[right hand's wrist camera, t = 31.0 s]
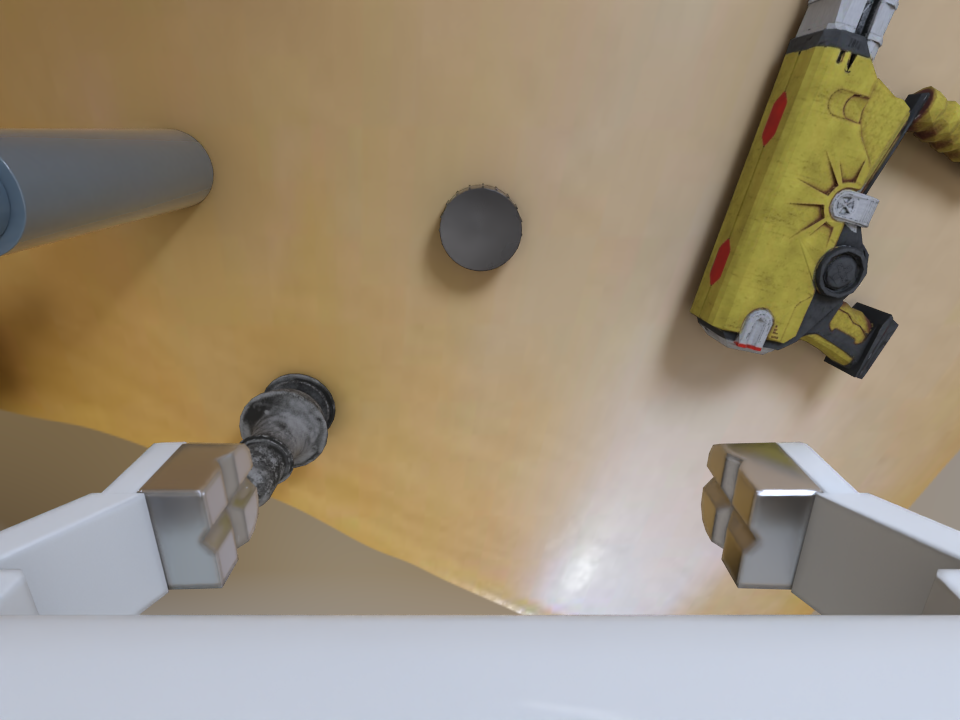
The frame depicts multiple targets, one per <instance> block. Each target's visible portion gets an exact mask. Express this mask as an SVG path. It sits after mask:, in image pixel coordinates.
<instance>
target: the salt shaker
mask: <svg viewBox="0 0 960 720" xmlns="http://www.w3.org/2000/svg"><path fill="white" fill-rule="evenodd" d="M334 416H335V403H334V400H333V398H332V395H331V393H330V392H329V391H328V390H327V388H326V387H325V386H324V385H323V384H321V383H320V382H319V381H318V380H316V379H314V378H312V377H310V376H306V375H302V374H288V375H284V376H280V377H279V378H277V379H275V380H274V381H272V382H271V383H270V385H269V386H268V387H267V388H266V390H265V392H264V393H261V394H259V395H258V396H256V397H254V398H253V399H251V400H250V402H249V403H248V404H247V405H246V406H245V407H244V409H243V412H242V414H241V416H240V425H239V427H240V432H241V437H242V439H243V440H242V441H241V442H240V443H239V444H245V445H246V446H247V447H248V448H249V449H250V453H251V458H252V463H253V467H252V469H251V470H250V472H249V473H248V475H247V476H246V477H247V478H248V479H249V480H250V481H251V482H252V483H253V484H254V485H255V486H256V487H257V492H258V499H259V507H260V506H262V505H263V504H264V503H266V502H267V501H268V500H269V498H270V497H271V495H272V493H273V491H274V490H275V488H276V486H277V484H279V483H281V482H283V481H285V480H286V479H287V478H288V477H289V476H290V474H291V472H292V470H293V468H296V467H300V466H304V465H307V464H308V463H310V462H312V461H314V460H315V459H316V458H317V457H318V456H319V455H320V454H321V453H322V451H323V449H324V447H325V445H326V442H327V437H328V431H327V429H328V428H329V427H330V426H331V424H332V422H333V420H334Z"/></svg>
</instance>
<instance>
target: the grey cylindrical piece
mask: <svg viewBox="0 0 960 720" xmlns="http://www.w3.org/2000/svg"><path fill="white" fill-rule="evenodd" d="M212 183H213V168H212V164H211V161H210V158H209V156H208V154H207V152H206V151H205V149H204V148H203V147H202V145H201V144H200V143H199V142H198V141H197V140H195V139H194V138H193V137H191V136H190V135H188V134H186V133H184V132H182V131H179V130H175V129H78V128H0V257H1V256H4V255H8V254H12V253H16V252H20V251H23V250H27V249H31V248H35V247H39V246H42V245H46V244H50V243H54V242H58V241H61V240H65V239H69V238H73V237H77V236H80V235H84V234H88V233H92V232H96V231H99V230H103V229H107V228H111V227H115V226H118V225H122V224H126V223H130V222H134V221H137V220H141V219H145V218H149V217H153V216H156V215H160V214H164V213H168V212H172V211H175V210H179V209H183V208H187V207H191V206H194V205H196V204H198V203H200V202H201V201H202V200H203V199H204V198H205V197H206V196H207V195H208V193H209V192H210V190H211V187H212Z"/></svg>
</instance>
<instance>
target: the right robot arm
mask: <svg viewBox="0 0 960 720" xmlns="http://www.w3.org/2000/svg"><path fill="white" fill-rule="evenodd" d="M252 467H253V463H252V458H251V453H250V449H249V448H248V447H247V446H246V445H245V444H239V443H186V442H164V443H154V444H153V445H152V446H151V447H150V448H148V449H147V450H146V451H145V452H144V453H143V454H142V455H141V456H140V457H139V458H138V459H137V460H136V461H135V462H134V463H133V464H132V465H131V466H129V467H128V468H127V469H126V470H125V471H124V472H123V473H122V474H121V475H120V476H119V477H118V478H117V479H116V480H115V481H114V482H112V483H111V484H110V485H109V486H108V487H107V488H106V489H105V490H104V491H103V492H102V493H91V494H89V495H86V496H84V497H81V498H79V499H76V500H74V501H72V502H69V503H67V504H64V505H62V506H60V507H57V508H55V509H52V510H50V511H48V512H45V513H43V514H40V515H38V516H36V517H33V518H31V519H28V520H26V521H24V522H21V523H19V524H16V525H14V526H12V527H9V528H7V529H4V530H2V531H0V720H960V531H958V530H955V529H953V528H951V527H948V526H946V525H943V524H941V523H939V522H936V521H934V520H931V519H929V518H927V517H924V516H922V515H920V514H917V513H915V512H912V511H910V510H908V509H905V508H903V507H900V506H898V505H896V504H893V503H891V502H888V501H886V500H884V499H881V498H879V497H876V496H874V495H872V494H869V493H858V492H857V491H856V490H855V489H854V488H853V487H852V486H851V485H850V484H849V483H848V482H847V481H845V480H844V479H843V478H842V477H841V476H840V475H839V474H838V473H837V472H836V471H835V470H834V469H833V468H832V467H831V466H830V465H829V464H828V463H826V462H825V461H824V460H823V459H822V458H821V457H820V456H819V455H818V454H817V453H816V452H815V451H814V450H813V449H812V448H811V447H810V446H809V445H807V444H805V443H802V442H784V443H737V444H716V445H713V446H712V448H711V450H710V453H709V457H708V462H707V467H708V469H709V470H710V472H711V473H712V475H713V476H714V477H713V478H712V479H711V480H710V481H709V482H708V483H707V484H706V485H705V486H704V487H703V493H702V501H701V510H702V520H703V523H704V527H705V530H706V532H707V534H708V536H709V538H710V540H711V541H712V542H713V543H715V544H717V545H718V546H720V547H721V548H723V554H722V561H723V563H724V564H725V566H726V568H727V570H728V571H729V573H730V575H731V577H732V578H733V580H734V582H735V584H736V585H737V587H738V588H754V589H791V592H792V593H793V594H795V595H796V596H797V597H799V598H800V599H801V600H803V601H804V602H805V603H807V604H808V605H809V606H810V607H812V608H813V609H814V610H816V611H817V612H818V613H820V614H821V615H139V614H140V613H142V612H143V611H144V610H146V609H147V608H148V607H150V606H151V605H152V604H154V603H155V602H156V601H158V600H159V599H160V598H162V597H163V596H164V595H166V594H167V593H168V592H169V589H205V588H222V587H223V585H224V584H225V582H226V580H227V579H228V577H229V575H230V573H231V571H232V570H233V568H234V566H235V565H236V563H237V561H238V554H237V548H239V547H240V546H242V545H243V544H245V543H246V542H248V541H249V540H250V538H251V536H252V534H253V532H254V530H255V526H256V522H257V518H258V514H259V499H258V492H257V487H256V486H255V485H254V484H253V483H252V482H251V481H250V480H249V479H248V478H247V477H246V476H247V475H248V473H249V472H250V470H251V469H252Z"/></svg>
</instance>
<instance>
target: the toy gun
mask: <svg viewBox="0 0 960 720" xmlns="http://www.w3.org/2000/svg"><path fill="white" fill-rule="evenodd" d="M898 5H899V4H898V0H809V2H808V9H807V11H806V14H805V16H804V18H803V21H802V23H801V25H800V27H799V30H798V32H797V34H796V37H795V38H793V39H791V40H790V43H789V46H788V49H787V52H786V55H785V57H784V60H783V63H782V65H781V68H780V71H779V74H778V76H777V79H776V82H775V84H774V87H773V90H772V92H771V95H770V98H769V100H768V103H767V106H766V108H765V111H764V114H763V116H762V119H761V122H760V124H759V127H758V130H757V132H756V135H755V138H754V141H753V143H752V146H751V149H750V151H749V154H748V157H747V159H746V162H745V165H744V167H743V170H742V173H741V175H740V178H739V181H738V183H737V186H736V189H735V191H734V194H733V197H732V199H731V202H730V205H729V208H728V210H727V213H726V216H725V218H724V221H723V224H722V226H721V229H720V232H719V234H718V237H717V240H716V242H715V245H714V248H713V250H712V253H711V256H710V258H709V261H708V264H707V266H706V269H705V272H704V275H703V277H702V280H701V283H700V285H699V288H698V291H697V293H696V296H695V299H694V301H693V304H692V307H691V309H690V313H692V314H694V315H695V316H697V318H698V322H699V324H700V325H701V326H702V327H703V329H704V330H705V332H706V333H707V334H708V335H709V336H711V337H712V338H714V339H715V340H717V341H718V342H720V343H721V344H723V345H725V346H726V347H729V348H733V349H738V350H743V351H748V352H753V353H757V354H762V355H763V354H765V353H768V352H771V351H773V350H779V349H782V348H784V347H786V346H788V345H790V344H792V343H795V342H796V341H798V340H799V339H801V340H804V341H806V342H808V343H810V344H811V345H813V346H814V347H816V348H818V349H819V350H820V351H822V352H823V353H824V354H825V355H826V357H825V359H824V361H825V362H827V363H829V364H831V365H833V366H834V367H836V368H838V369H840V370H842V371H844V372H846V373H848V374H849V375H851V376H853V377H857V378H860V379H862V378H863V377H864V376H865V374H866V373H867V372H868V370H869V369H870V367H871V366H872V364H873V363H874V361H875V360H876V358H877V357H878V355H879V354H880V352H881V351H882V349H883V348H884V346H885V345H886V343H887V342H888V340H889V339H890V337H891V336H892V335H893V333H894V332H895V330H896V328H897V327H898V324H897V323H896V322H895V321H894V320H893V317H892V315H891V314H888V313H885V312H882V311H880V310H877V309H874V308H871V307H869V306H866V305H863V304H860V303H858V302H857V303H856V304H855V305H854V306H853V307H852V308H851V307H850V306H849V305H848V304H847V303H846V302H843V299H845V298H846V297H847V296H848V295H849V294H851V293H853V292H854V291H855V290H856V288H857V287H858V286H859V285H860V283H861V282H862V280H863V279H864V277H865V276H866V274H867V263H868V257H869V254H868V252H867V250H866V248H865V247H864V245H863V243H862V234H861V227H868V224H869V222H870V220H871V218H872V216H873V213H874V211H875V209H876V207H877V205H878V203H879V200H878V199H876V198H874V197H871V196H868V195H866V194H867V192H868V191H869V189H870V188H871V186H872V185H873V183H874V182H875V180H876V178H877V177H878V175H879V174H880V172H881V171H882V169H883V168H884V166H885V165H886V163H887V161H888V160H889V158H890V157H891V155H892V154H893V152H894V151H895V149H896V147H897V146H898V144H899V143H900V141H901V139H902V138H903V136H904V135H905V133H906V131H907V132H914V136H915V137H917V138H918V139H919V140H920V141H921V142H930V146H931V147H932V148H933V149H935V150H936V151H937V152H939V153H940V152H943V153H944V154H945V155H946V156H947V157H948V158H949V159H950V160H951V161H953V162H960V105H959V104H958V103H957V102H956V101H947V99H946V98H945V97H944V95H943V94H942V93H941V92H940V91H938V90H936V89H935V88H933V87H932V86H930V87H926V88H923V89H921V90H919V91H918V92H916V93H914V94H910V95H908V97H907V98H906V100H905V101H904V100H902V99H899V98H896V97H895V96H894V95H893V94H892V93H891V92H890V90H889V89H888V88H887V87H886V86H885V85H884V84H883V83H882V81H881V80H880V79H879V78H877V76H876V73H875V70H874V67H873V64H872V63H873V60H874V58H875V56H876V53H877V51H878V49H879V47H880V46H881V45H882V42H883V38H882V37H883V35H884V33H885V31H886V28H887V26H888V24H889V22H890V20H891V18H892V15H893V13H894V11H895V10H897V7H898Z"/></svg>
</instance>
